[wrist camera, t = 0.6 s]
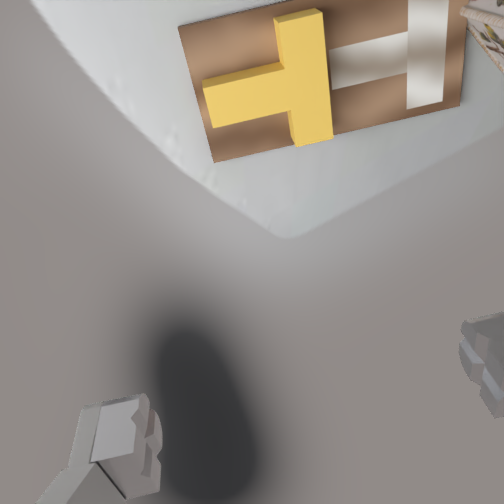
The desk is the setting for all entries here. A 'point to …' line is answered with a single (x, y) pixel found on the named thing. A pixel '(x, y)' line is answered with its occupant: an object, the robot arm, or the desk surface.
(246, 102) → the t block
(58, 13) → the desk surface
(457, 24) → the board
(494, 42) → the decorative jar
